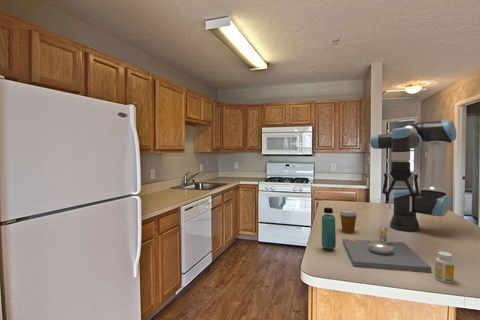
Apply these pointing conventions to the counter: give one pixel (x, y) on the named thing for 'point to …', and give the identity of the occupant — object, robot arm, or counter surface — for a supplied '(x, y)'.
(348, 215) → the disposable coffee cup
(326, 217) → the beverage bottle
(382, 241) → the metal ladle
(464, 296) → the counter surface
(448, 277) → the supplement bottle
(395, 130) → the robot arm
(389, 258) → the stand
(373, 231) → the counter surface
